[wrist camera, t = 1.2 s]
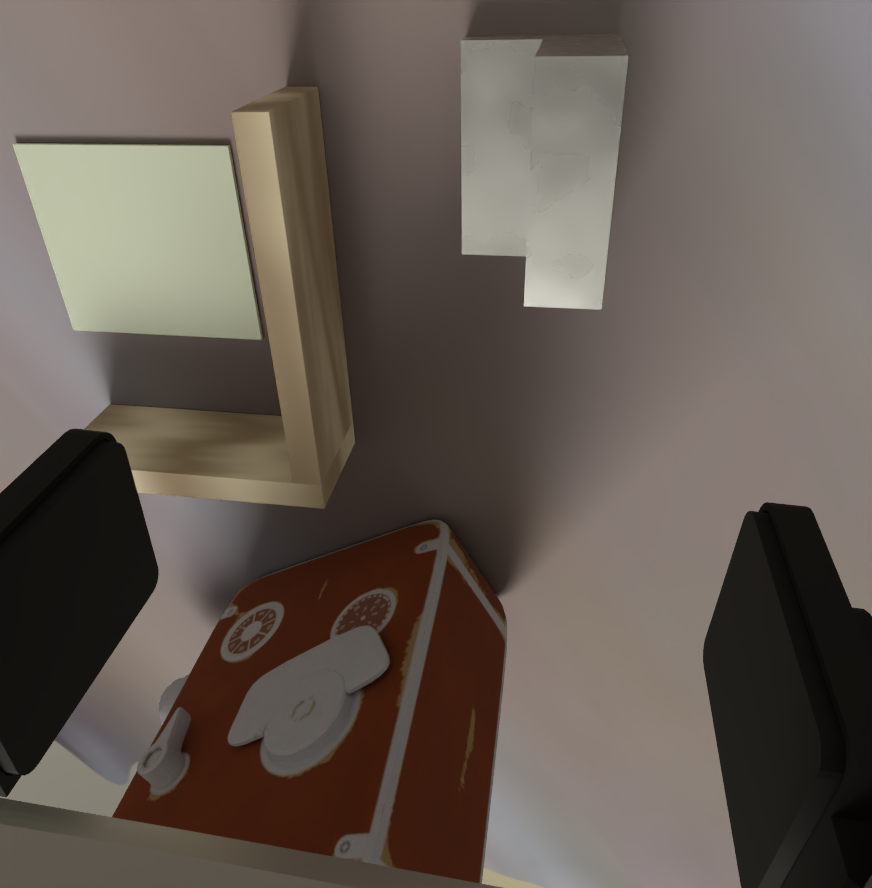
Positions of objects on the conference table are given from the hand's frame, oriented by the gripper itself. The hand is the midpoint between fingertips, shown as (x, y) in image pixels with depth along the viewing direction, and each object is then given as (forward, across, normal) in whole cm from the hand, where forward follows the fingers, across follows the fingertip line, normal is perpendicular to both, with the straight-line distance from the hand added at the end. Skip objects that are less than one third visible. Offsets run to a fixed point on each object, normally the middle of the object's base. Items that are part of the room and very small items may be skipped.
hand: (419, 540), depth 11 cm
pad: (+19, +15, +3) cm, 25 cm away
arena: (+19, +13, +4) cm, 24 cm away
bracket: (+20, -1, -2) cm, 20 cm away
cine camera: (+20, +8, +23) cm, 31 cm away
